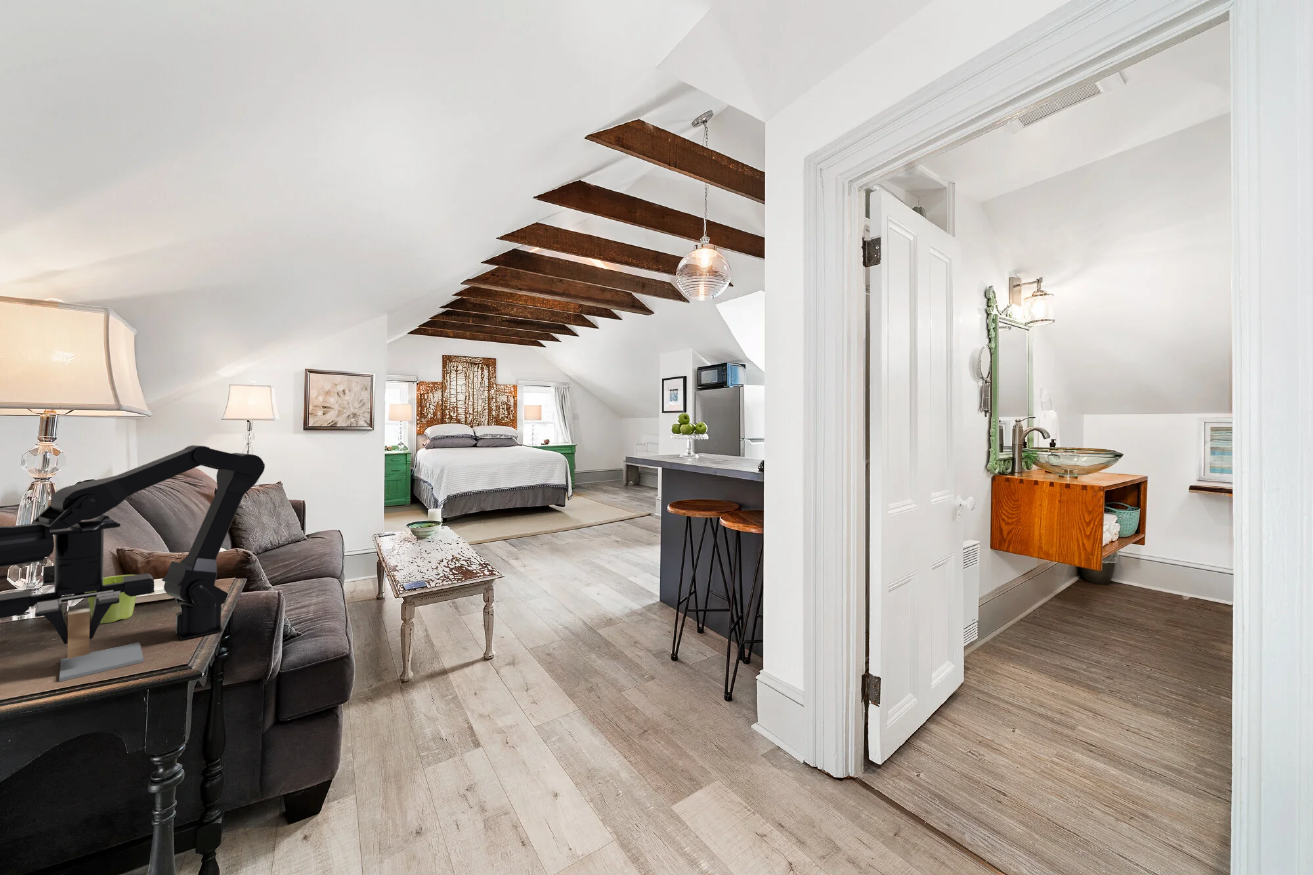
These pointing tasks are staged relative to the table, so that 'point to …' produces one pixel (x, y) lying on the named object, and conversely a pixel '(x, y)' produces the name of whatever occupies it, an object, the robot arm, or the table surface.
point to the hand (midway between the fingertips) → (78, 640)
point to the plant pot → (116, 610)
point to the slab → (78, 630)
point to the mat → (100, 661)
